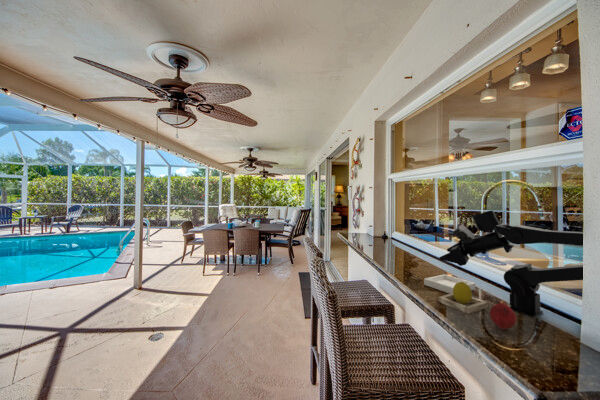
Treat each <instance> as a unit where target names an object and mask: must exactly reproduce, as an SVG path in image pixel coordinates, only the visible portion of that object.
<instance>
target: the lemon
mask: <svg viewBox="0 0 600 400" xmlns="http://www.w3.org/2000/svg"><path fill="white" fill-rule="evenodd" d="M472 291H473V290H472ZM472 291H471V289H470V287H469V286H468V285H467V284H465V283H464V282H459V283H457V284H455V286H454V288H453V295H454V298H455V299H454V300H456V302H457V303H460V304H462V305H465V304H468V303H470V301H471V299H472V297H473V292H472Z"/></svg>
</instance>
